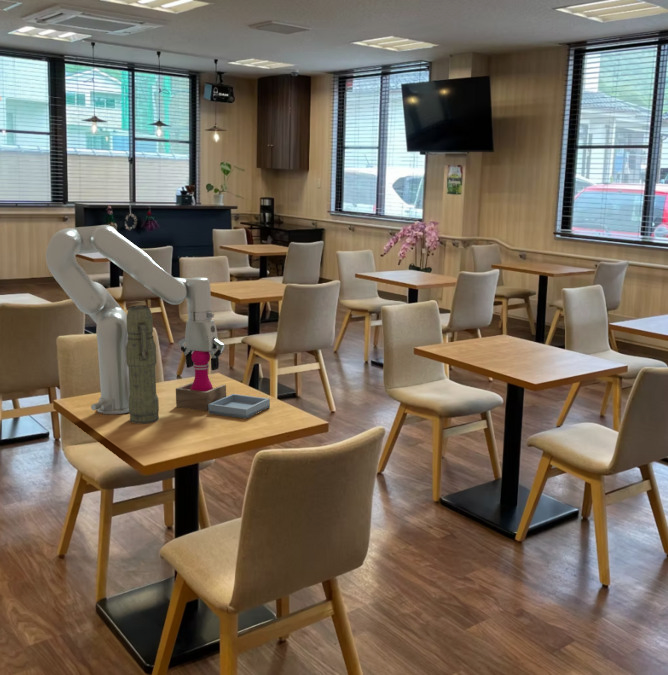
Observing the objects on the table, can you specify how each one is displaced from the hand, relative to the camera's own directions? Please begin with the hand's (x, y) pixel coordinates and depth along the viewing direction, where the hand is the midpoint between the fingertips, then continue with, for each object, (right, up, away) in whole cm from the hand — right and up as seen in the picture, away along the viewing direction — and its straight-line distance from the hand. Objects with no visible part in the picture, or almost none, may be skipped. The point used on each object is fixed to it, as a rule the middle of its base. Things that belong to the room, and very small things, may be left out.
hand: (202, 368), depth 261 cm
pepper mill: (0, -12, +2) cm, 12 cm away
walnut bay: (0, -12, +2) cm, 12 cm away
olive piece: (-15, -15, -15) cm, 26 cm away
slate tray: (+13, -13, -5) cm, 19 cm away
